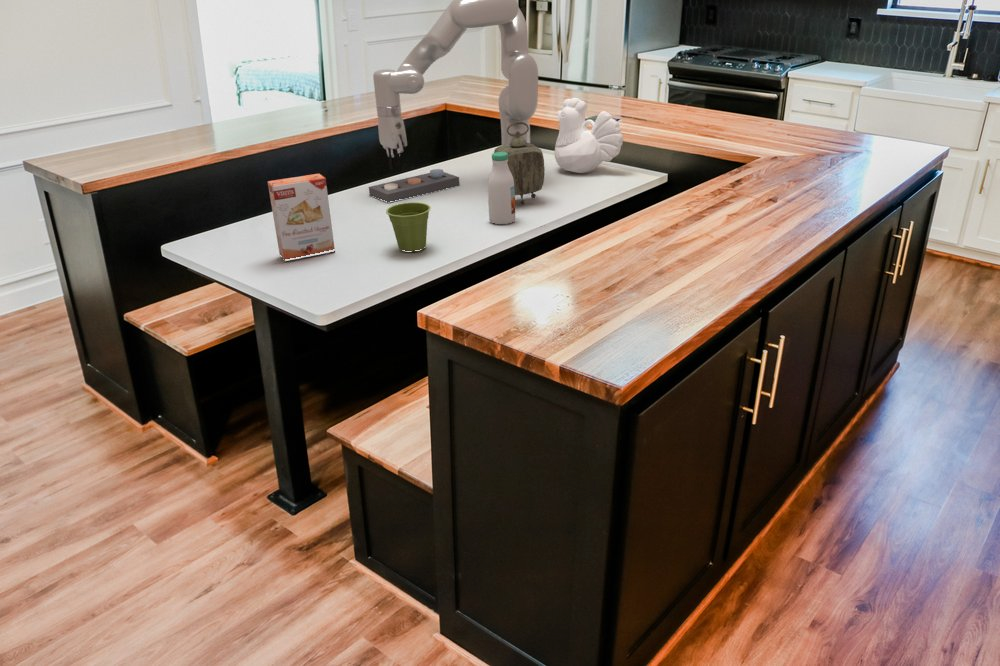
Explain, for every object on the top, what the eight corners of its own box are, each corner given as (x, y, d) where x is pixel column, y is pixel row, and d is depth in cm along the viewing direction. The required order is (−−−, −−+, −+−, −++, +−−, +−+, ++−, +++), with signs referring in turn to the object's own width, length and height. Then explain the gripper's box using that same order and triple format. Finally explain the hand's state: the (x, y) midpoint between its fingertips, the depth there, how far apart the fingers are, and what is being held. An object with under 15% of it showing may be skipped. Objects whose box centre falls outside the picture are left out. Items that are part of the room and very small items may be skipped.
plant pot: (395, 241, 220) (391, 202, 215) (437, 241, 218) (434, 201, 213) (385, 256, 209) (381, 215, 204) (429, 256, 208) (426, 215, 203)
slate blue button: (446, 179, 268) (445, 170, 266) (435, 182, 265) (434, 173, 264) (438, 177, 271) (438, 168, 269) (428, 179, 268) (427, 170, 267)
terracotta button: (424, 188, 263) (423, 179, 262) (413, 191, 261) (412, 182, 260) (417, 185, 266) (416, 177, 265) (405, 188, 264) (405, 179, 263)
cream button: (401, 194, 258) (400, 185, 257) (389, 196, 256) (388, 187, 255) (394, 191, 262) (393, 182, 260) (382, 194, 259) (381, 185, 258)
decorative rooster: (545, 171, 279) (544, 99, 268) (575, 162, 289) (575, 92, 278) (599, 183, 263) (600, 107, 252) (629, 173, 272) (631, 100, 261)
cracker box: (285, 263, 208) (271, 185, 198) (279, 256, 212) (266, 180, 203) (336, 253, 213) (325, 177, 204) (330, 246, 218) (319, 172, 209)
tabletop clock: (537, 196, 253) (535, 117, 241) (547, 204, 245) (546, 122, 234) (494, 202, 249) (490, 121, 238) (502, 210, 241) (499, 127, 230)
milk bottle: (506, 226, 227) (504, 157, 218) (484, 223, 231) (480, 155, 222) (520, 219, 233) (518, 151, 224) (498, 215, 236) (495, 149, 227)
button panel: (459, 185, 267) (459, 177, 266) (388, 203, 252) (387, 194, 251) (439, 179, 276) (439, 170, 274) (369, 195, 261) (368, 186, 259)
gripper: (411, 112, 245) (417, 170, 253) (386, 106, 255) (392, 162, 264) (391, 116, 241) (397, 175, 249) (366, 110, 251) (373, 166, 260)
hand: (395, 168), depth 256 cm, fingers closed
